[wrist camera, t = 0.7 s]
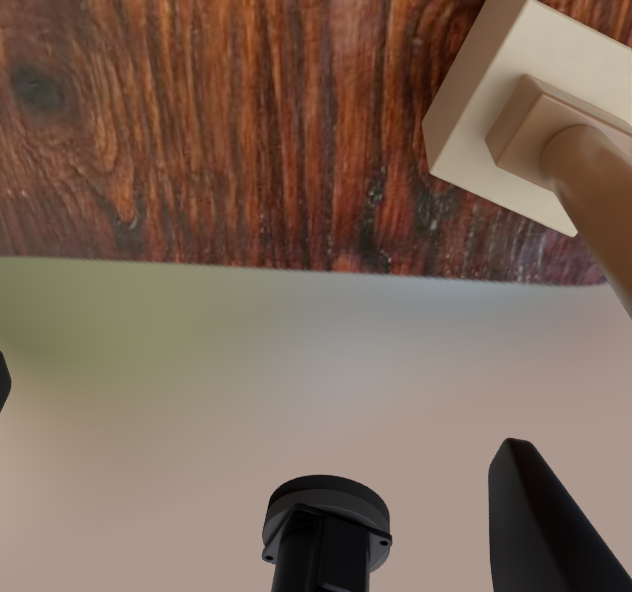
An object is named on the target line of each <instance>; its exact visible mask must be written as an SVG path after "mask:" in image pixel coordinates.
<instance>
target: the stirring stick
mask: <svg viewBox="0 0 632 592" xmlns="http://www.w3.org/2000/svg"><path fill="white" fill-rule="evenodd" d="M485 143H486V145H487V147H488V150H489V152H490V154H491V157H492V159H493V161H494V163H495V165H496V166H497V167H499V168H501V169H503V170H505V171H507V172H510V173H512V174H514V175H516V176H518V177H520V178H523V179H525V180H527V181H529V182H531V183H534V184H536V185H538V186H540V187H542V188H544V189H547V190H549V191H551V192H553V193H554V194H555V196H556V197H557V199H558V201H559V202H560V204H561V205H562V207H563V209H564V210H565V212H566V214H567V215H568V217H569V218H570V220H571V222H572V223H573V225H574V227H575V228H576V230H577V231H578V233H579V235H580V236H581V238H582V240H583V241H584V243H585V244H586V246H587V248H588V249H589V251H590V253H591V254H592V256H593V257H594V259H595V261H596V262H597V264H598V266H599V267H600V269H601V271H602V272H603V274H604V275H605V277H606V279H607V280H608V282H609V284H610V285H611V287H612V288H613V290H614V291H615V293H616V295H617V297H618V298H619V300H620V301H621V303H622V305H623V306H624V308H625V310H626V311H627V313H628V314H629V316H630V318H631V319H632V126H631V125H630V124H629V123H627V122H626V121H624V120H622V119H620V118H618V117H616V116H614V115H612V114H610V113H607V112H605V111H603V110H601V109H599V108H597V107H595V106H593V105H591V104H589V103H587V102H585V101H583V100H581V99H579V98H577V97H575V96H573V95H571V94H568V93H566V92H564V91H562V90H560V89H558V88H556V87H554V86H552V85H550V84H548V83H546V82H544V81H542V80H540V79H538V78H536V77H534V76H532V75H529V74H525V75H524V76H523V78H522V79H521V81H520V83H519V84H518V86H517V87H516V89H515V91H514V92H513V94H512V96H511V97H510V99H509V101H508V102H507V104H506V105H505V107H504V109H503V110H502V112H501V114H500V115H499V117H498V119H497V120H496V122H495V124H494V125H493V127H492V128H491V130H490V132H489V133H488V135H487V137H486V138H485Z"/></svg>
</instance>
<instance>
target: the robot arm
mask: <svg viewBox="0 0 632 592" xmlns="http://www.w3.org/2000/svg"><path fill="white" fill-rule="evenodd" d="M10 389H11V377H10V374H9V371H8V368H7V365H6V362H5V359H4V356H3V354H2V352H1V351H0V412H1V410H2V408H3V406H4V403H5V401H6V399H7V397H8V395H9V393H10ZM488 482H489V483H488V484H489V485H488V486H489V538H490V539H489V541H490V542H489V543H490V564H491V574H492V582H493V589H494V592H632V579H631V577H630V576H629V575H628V573H627V572H626V571H625V569H624V568H623V566H622V565H621V564H620V562H619V561H618V560H617V558H616V557H615V556H614V554H613V553H612V551H611V550H610V549H609V547H608V546H607V545H606V543H605V542H604V541H603V539H602V538H601V536H600V535H599V534H598V532H597V531H596V530H595V528H594V527H593V526H592V524H591V523H590V521H589V520H588V519H587V517H586V516H585V515H584V513H583V512H582V511H581V509H580V508H579V506H578V505H577V504H576V502H575V501H574V500H573V498H572V497H571V496H570V494H569V493H568V492H567V490H566V489H565V487H564V486H563V485H562V483H561V482H560V481H559V479H558V478H557V477H556V475H555V474H554V472H553V471H552V470H551V468H550V467H549V466H548V464H547V463H546V461H545V460H544V459H543V457H542V456H541V455H540V453H539V452H538V451H537V449H536V448H535V447H534V445H533V444H532V443H530V442H529V441H526V440H520V439H514V438H507V439H505V440H504V441H503V443H502V445H501V446H500V448H499V450H498V452H497V453H496V455H495V457H494V459H493V461H492V463H491V464H490V468H489V475H488ZM391 545H392V536H391V535H390V534H389V533H386V532H384V531H381V530H378V529H375V528H372V527H369V526H366V525H364V524H361V523H358V522H355V521H352V520H349V519H346V518H344V517H341V516H338V515H335V514H332V513H329V512H326V511H324V510H321V509H318V508H315V507H312V506H309V505H306V504H303V503H296V504H294V505H293V506H292V508H291V509H290V511H289V512H288V514H287V515H286V516H285V518H284V519H283V521H282V522H281V524H280V525H279V527H278V528H277V530H276V531H275V533H274V534H273V536H272V537H271V539H270V540H269V542H268V543H267V545H266V546H265V548H264V549H263V553H262V559H263V560H264V561H266V562H270V563H272V564H275V565H276V567H275V573H274V578H273V584H272V590H271V592H369V577H370V576H369V575H370V568H371V567H372V566H373V565H374V564H375V563H376V562H377V561H378V560H379V559H380V557H381V556H382V555H383V554H384V553H385V552H386V551H387V550H388V549H389V548H390V547H391Z"/></svg>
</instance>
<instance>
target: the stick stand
mask: <svg viewBox="0 0 632 592" xmlns="http://www.w3.org/2000/svg"><path fill="white" fill-rule="evenodd" d="M525 74H529V75H532V76H534V77H536V78H538V79H540V80H542V81H544V82H546V83H548V84H550V85H552V86H554V87H556V88H558V89H560V90H562V91H564V92H566V93H568V94H571V95H573V96H575V97H577V98H579V99H581V100H583V101H585V102H587V103H589V104H591V105H593V106H595V107H597V108H599V109H601V110H603V111H605V112H607V113H610V114H612V115H614V116H616V117H618V118H620V119H622V120H624V121H626V122H627V123H629V124H630V125H631V126H632V48H630V47H628V46H626V45H624V44H622V43H620V42H618V41H616V40H614V39H612V38H610V37H608V36H606V35H604V34H602V33H600V32H598V31H596V30H594V29H592V28H590V27H588V26H586V25H584V24H582V23H580V22H578V21H576V20H575V19H573V18H571V17H569V16H567V15H565V14H563V13H561V12H559V11H557V10H555V9H553V8H551V7H549V6H547V5H545V4H543V3H541V2H539V1H537V0H486V1H485V3H484V5H483V7H482V9H481V11H480V12H479V14H478V16H477V18H476V20H475V22H474V24H473V26H472V28H471V29H470V31H469V33H468V35H467V37H466V39H465V41H464V43H463V45H462V47H461V48H460V50H459V52H458V54H457V56H456V58H455V60H454V62H453V64H452V66H451V67H450V69H449V71H448V73H447V75H446V77H445V79H444V81H443V83H442V84H441V86H440V88H439V90H438V92H437V94H436V96H435V98H434V100H433V102H432V103H431V105H430V107H429V109H428V111H427V113H426V115H425V117H424V119H423V121H422V130H423V136H424V142H425V148H426V155H427V161H428V167H429V173H430V174H432V175H434V176H436V177H438V178H441V179H443V180H445V181H447V182H450V183H452V184H454V185H456V186H458V187H461V188H463V189H465V190H467V191H470V192H472V193H474V194H476V195H479V196H481V197H483V198H485V199H487V200H490V201H492V202H494V203H496V204H499V205H501V206H503V207H505V208H508V209H510V210H512V211H514V212H516V213H519V214H521V215H523V216H525V217H528V218H530V219H532V220H534V221H537V222H539V223H541V224H543V225H545V226H548V227H550V228H552V229H554V230H557V231H559V232H561V233H563V234H566V235H568V236H570V237H574V236H575V235H576V234H577V233H578V231H577V230H576V228H575V227H574V225H573V223H572V222H571V220H570V218H569V217H568V215H567V214H566V212H565V210H564V209H563V207H562V205H561V204H560V202H559V201H558V199H557V197H556V196H555V194H554V193H553V192H551V191H549V190H547V189H544V188H542V187H540V186H538V185H536V184H534V183H531V182H529V181H527V180H525V179H523V178H520V177H518V176H516V175H514V174H512V173H510V172H507V171H505V170H503V169H501V168H499V167H497V166H496V165H495V163H494V161H493V159H492V157H491V154H490V152H489V150H488V147H487V145H486V143H485V138H486V137H487V135H488V133H489V132H490V130H491V128H492V127H493V125H494V124H495V122H496V120H497V119H498V117H499V115H500V114H501V112H502V110H503V109H504V107H505V105H506V104H507V102H508V101H509V99H510V97H511V96H512V94H513V92H514V91H515V89H516V87H517V86H518V84H519V83H520V81H521V79H522V78H523V76H524V75H525Z"/></svg>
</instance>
